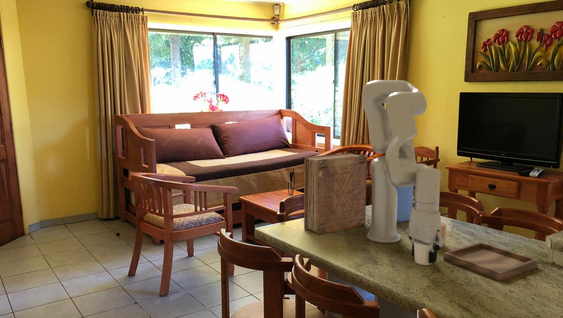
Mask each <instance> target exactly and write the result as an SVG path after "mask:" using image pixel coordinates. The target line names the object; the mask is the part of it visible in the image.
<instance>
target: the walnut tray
mask: <svg viewBox="0 0 563 318" xmlns="http://www.w3.org/2000/svg"><path fill="white" fill-rule="evenodd" d="M443 261H446V262H449V263H450V264H453V265H456V266H458V267H462V268H464V269H466V270H469V271H472V272H474V273H477V274H479V275H482V276H484V277H487V278H490V279H493V280H495V281H497V282H502V281H505V280H508V279H510V278H513V277H516V276H518V275H521V274H523V273H526V272H528V271H531V270H534V269H536V268H538V265H539V260H538V259H537V258H534V257H531V256H528V255H527V256H526V255H524V254H521V253H518V252H514V251H511V250H508V249H506V248H505V249H504V248H502V247H499V246H495V245H493V244H490V243H486V242H483V241H480V242H476V243H472V244H469V245H465V246H463V247H459V248H456V249H452V250H448V251H445V252H443Z"/></svg>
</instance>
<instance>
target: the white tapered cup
mask: <svg viewBox="0 0 563 318" xmlns="http://www.w3.org/2000/svg"><path fill="white" fill-rule="evenodd" d="M434 245H435V244H434V243H433V246H434ZM429 246H430V245H429V244H428V243H425V242H422V241H419V240H417V239H416V240H414V254H415V256H414V262H415V263H416V264H418V265H422V266H430V265H432V264H433V263H431V264H430V263H429V262H428V258H429V251H431V250H430V247H429Z"/></svg>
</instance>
